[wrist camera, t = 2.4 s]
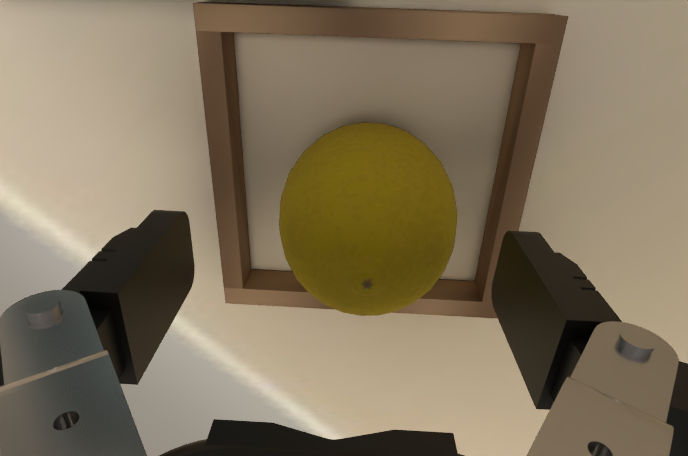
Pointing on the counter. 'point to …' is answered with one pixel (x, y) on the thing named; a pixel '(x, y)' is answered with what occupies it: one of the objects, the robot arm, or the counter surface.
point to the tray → (526, 28)
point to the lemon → (368, 219)
